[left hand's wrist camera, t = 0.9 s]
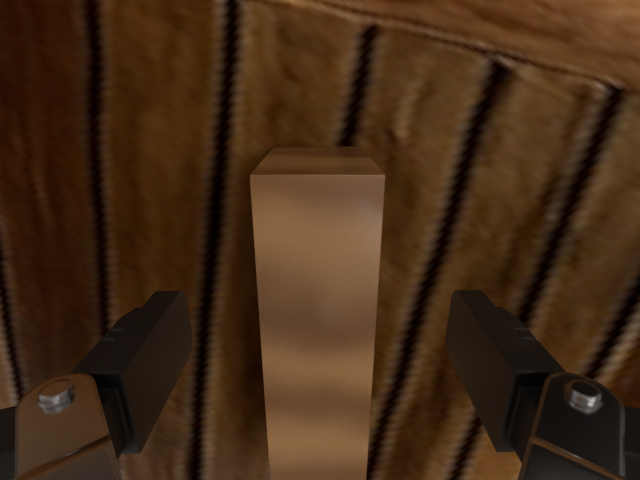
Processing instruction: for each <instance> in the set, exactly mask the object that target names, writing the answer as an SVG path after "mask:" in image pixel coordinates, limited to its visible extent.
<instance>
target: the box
mask: <svg viewBox="0 0 640 480" xmlns="http://www.w3.org/2000/svg"><path fill="white" fill-rule="evenodd" d="M250 190H251V205H252V219H253V234H254V249H255V263H256V278H257V293H258V307H259V322H260V337H261V351H262V366H263V380H264V395H265V410H266V424H267V439H268V454H269V468H270V480H366V472H367V457H368V441H369V425H370V410H371V394H372V378H373V363H374V347H375V332H376V316H377V300H378V285H379V269H380V253H381V238H382V222H383V207H384V191H385V174H384V173H383V172H382V170H381V169H380V168H379V167H378V166H377V165H376V164H375V163H374V161H373V160H372V159H371V158H370V157H369V156H368V155H367V153H366V152H365V151H364V150H363V149H362V148H361V147H273V148H272V149H271V151H270V152H269V153H268V154H267V155H266V156H265V158H264V159H263V160H262V161H261V162H260V164H259V165H258V166H257V167H256V168H255V169H254V171H253V172H252V173H251V174H250Z"/></svg>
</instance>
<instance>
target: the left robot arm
mask: <svg viewBox="0 0 640 480" xmlns="http://www.w3.org/2000/svg"><path fill="white" fill-rule="evenodd" d="M446 346H447V351H448V355H449V357H450V359H451V361H452V363H453V365H454V367H455V369H456V371H457V373H458V375H459V377H460V379H461V381H462V383H463V385H464V387H465V389H466V391H467V393H468V395H469V397H470V399H471V401H472V403H473V405H474V407H475V409H476V411H477V413H478V415H479V417H480V419H481V421H482V423H483V425H484V427H485V429H486V431H487V433H488V435H489V437H490V439H491V441H492V443H493V445H494V447H495V449H496V451H497V452H516V453H517V455H518V457H519V459H520V461H521V463H522V466H521V469H520V473H519V477H518V480H640V409H637V408H633V407H628V406H624V405H623V404H622V402H621V401H620V399H619V398H618V397H617V396H616V395H615V394H614V393H613V392H612V391H611V390H609V389H608V388H607V387H605V386H604V385H602V384H600V383H598V382H596V381H594V380H592V379H590V378H587V377H585V376H582V375H578V374H574V373H567V372H566V371H565V370H564V369H563V368H562V367H561V366H560V365H559V364H558V362H557V361H556V360H555V359H554V358H553V357H552V356H551V355H550V354H549V352H548V351H547V350H546V349H545V348H544V347H543V346H542V345H541V343H540V342H539V341H538V340H536V338H535V337H534V336H533V335H532V333H531V332H530V331H527V328H526V327H525V326H524V324H523V323H522V322H521V321H520V320H519V319H518V318H517V317H516V316H515V315H513V314H511V313H510V312H508V311H506V310H505V309H503V308H502V307H495V306H494V304H493V303H492V302H491V301H490V300H489V298H488V297H487V296H486V295H485V294H484V292H483V291H480V290H456V291H454V292H453V294H452V298H451V305H450V312H449V319H448V325H447V332H446ZM191 347H192V333H191V326H190V319H189V312H188V305H187V299H186V295H185V293H184V292H183V291H156V292H155V293H154V294H153V295H152V296H151V297H150V299H149V300H148V301H147V302H146V303H145V305H144V306H143V307H142V308H136V309H134V310H132V311H131V312H129V313H127V314H126V315H124V316H123V317H121V318H120V319H119V320H118V321H117V322H116V324H115V325H114V326H113V327H112V328H111V329H110V331H108V332H107V333H106V335H105V336H104V337H103V338H102V341H99V342H98V343H97V345H96V346H95V347H94V348H93V349H92V350H91V351H90V352H89V353H88V355H87V356H86V357H85V358H84V359H83V360H82V361H81V362H80V363H79V365H78V366H77V367H76V368H75V369H74V370H73V371H72V372H71V373H66V374H62V375H58V376H55V377H53V378H50V379H48V380H46V381H44V382H42V383H40V384H38V385H36V386H35V387H33V388H32V389H31V390H29V391H28V392H27V393H26V394H25V395H24V396H23V397H22V398H21V399H20V401H19V402H18V404H17V406H14V407H10V408H5V409H1V410H0V480H122V477H121V473H120V469H119V466H118V462H117V460H118V458H119V457H120V455H121V453H141V451H142V449H143V447H144V445H145V443H146V441H147V439H148V437H149V435H150V433H151V431H152V429H153V427H154V425H155V423H156V421H157V419H158V417H159V415H160V413H161V411H162V409H163V407H164V405H165V403H166V401H167V399H168V397H169V395H170V394H171V392H172V390H173V388H174V386H175V384H176V382H177V380H178V378H179V376H180V374H181V372H182V370H183V368H184V366H185V364H186V362H187V360H188V358H189V355H190V352H191Z"/></svg>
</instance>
